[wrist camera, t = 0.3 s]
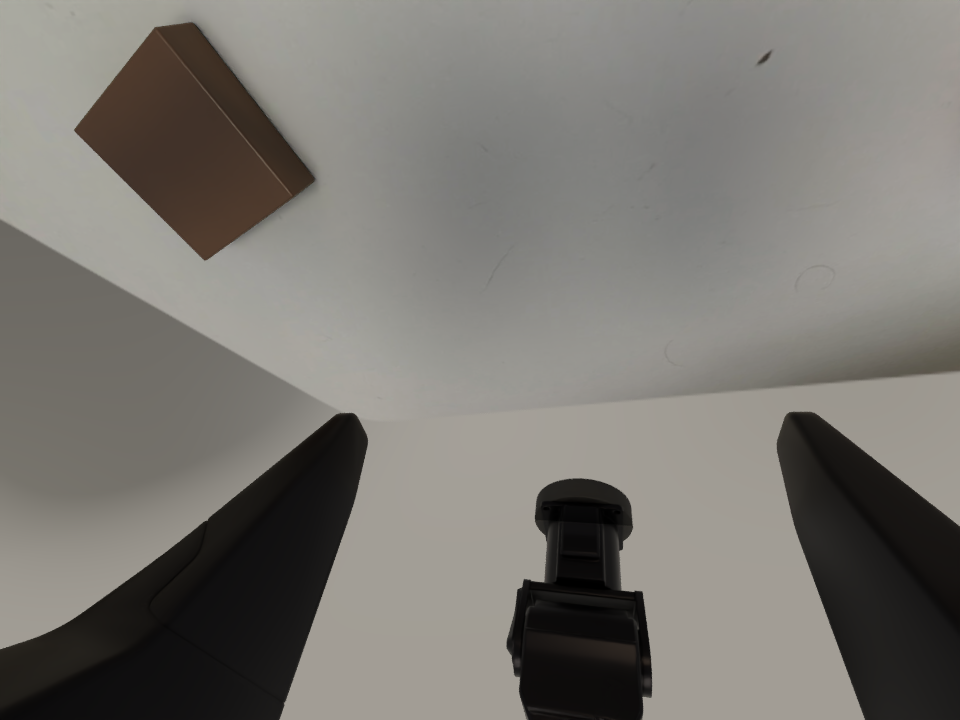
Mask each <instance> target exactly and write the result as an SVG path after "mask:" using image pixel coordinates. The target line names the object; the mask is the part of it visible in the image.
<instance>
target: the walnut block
mask: <svg viewBox="0 0 960 720" xmlns="http://www.w3.org/2000/svg"><path fill="white" fill-rule="evenodd" d="M74 131H75V132H76V133H77V134H78V135H79V136H80V137H81V138H82V139H83V140H84V141H85V142H86V143H87V144H88V145H89V146H90V147H91V148H92V149H93V150H94V151H95V152H96V153H97V154H98V155H99V156H100V157H101V158H102V159H103V160H104V161H105V162H106V163H107V164H108V165H109V166H110V167H111V168H112V169H113V170H114V171H115V172H116V173H117V174H118V175H119V176H120V177H121V178H122V179H123V180H124V181H125V182H126V183H127V184H128V185H129V186H130V187H131V188H132V189H133V190H134V191H135V192H136V193H137V194H138V195H139V196H140V197H141V198H142V199H143V200H144V201H145V202H146V203H147V204H148V205H149V206H150V207H151V208H152V209H153V210H154V211H155V212H156V213H157V214H158V215H159V216H160V217H161V218H162V219H163V220H164V221H165V222H166V223H167V224H168V225H169V226H170V227H171V228H172V229H173V230H174V231H175V232H176V233H177V234H178V235H179V236H180V237H181V238H182V239H183V240H184V241H185V242H186V243H187V244H188V245H189V246H190V247H191V248H192V249H193V250H194V251H195V252H196V253H197V254H198V255H199V256H200V257H201V258H202V259H203V260H208V259H209V258H211V257H212V256H213V255H215V254H216V253H218V252H219V251H220V250H222V249H223V248H224V247H226V246H227V245H229V244H230V243H231V242H233V241H234V240H236V239H237V238H238V237H240V236H241V235H242V234H244V233H245V232H247V231H248V230H249V229H251V228H252V227H254V226H255V225H256V224H258V223H259V222H260V221H262V220H263V219H265V218H266V217H267V216H269V215H270V214H272V213H273V212H274V211H276V210H277V209H278V208H280V207H281V206H283V205H284V204H285V203H287V202H288V201H289V200H291V199H292V198H294V197H295V196H296V195H298V194H299V193H300V192H301V191H303V190H304V189H305V188H307V187H308V186H309V185H310V184H312V183H313V182H314V181H315V179H314V178H313V176H312V175H311V174H310V172H309V171H308V170H307V169H306V167H305V166H304V165H303V163H302V162H301V161H300V160H299V158H298V157H297V156H296V154H295V153H294V152H293V151H292V149H291V148H290V147H289V145H288V144H287V143H286V142H285V140H284V139H283V138H282V136H281V135H280V134H279V133H278V131H277V130H276V129H275V127H274V126H273V125H272V124H271V122H270V121H269V120H268V118H267V117H266V116H265V115H264V113H263V112H262V111H261V109H260V108H259V107H258V106H257V104H256V103H255V102H254V100H253V99H252V98H251V97H250V95H249V94H248V93H247V91H246V90H245V89H244V87H243V86H242V85H241V84H240V82H239V81H238V80H237V78H236V77H235V76H234V75H233V73H232V72H231V71H230V69H229V68H228V67H227V66H226V64H225V63H224V62H223V60H222V59H221V58H220V57H219V55H218V54H217V53H216V51H215V50H214V49H213V48H212V46H211V45H210V44H209V42H208V41H207V40H206V39H205V37H204V36H203V35H202V33H201V32H200V31H199V30H198V28H197V27H196V26H195V24H193V23H192V22H191V23H184V24H176V25H169V26H161V27H155V28H154V29H153V30H152V32H151V33H150V34H149V35H148V37H147V38H146V39H145V41H144V42H143V43H142V44H141V46H140V47H139V48H138V49H137V51H136V52H135V53H134V54H133V56H132V57H131V58H130V59H129V61H128V62H127V63H126V65H125V66H124V67H123V68H122V70H121V71H120V72H119V73H118V75H117V76H116V77H115V78H114V80H113V81H112V82H111V84H110V85H109V86H108V87H107V89H106V90H105V91H104V92H103V94H102V95H101V96H100V97H99V99H98V100H97V101H96V103H95V104H94V105H93V106H92V108H91V109H90V110H89V111H88V113H87V114H86V115H85V116H84V118H83V119H82V120H81V121H80V123H79V124H78V125H77V127H76V128H75V129H74Z"/></svg>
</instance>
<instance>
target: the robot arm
mask: <svg viewBox="0 0 960 720" xmlns="http://www.w3.org/2000/svg"><path fill="white" fill-rule="evenodd" d="M367 445H368V438H367V435H366V433H365V431H364V429H363V427H362V425H361V423H360V421H359V419H358V417H357V416H356V415H355V414H354V413H339V414H336V415H335V416H334V417H332V418H331V419H330V420H329V421H328V422H326V423H325V424H324V425H323V426H321V427H320V428H319V429H318V430H316V431H315V432H314V433H313V434H312V435H310V436H309V437H308V438H307V439H305V440H304V441H303V442H302V443H301V444H299V445H298V446H297V447H296V448H294V449H293V450H292V451H291V452H290V453H288V454H287V455H286V456H284V457H283V458H282V459H281V460H280V461H278V462H277V463H276V464H275V465H273V466H272V467H271V468H270V469H269V470H267V471H266V472H265V473H264V474H262V475H261V476H260V477H259V478H258V479H256V480H255V481H254V482H253V483H251V484H250V485H249V486H248V487H246V488H245V489H244V490H243V491H241V492H240V493H239V494H238V495H237V496H235V497H234V498H233V499H232V500H230V501H229V502H228V503H227V504H225V505H224V506H223V507H222V508H221V509H219V510H218V511H217V512H216V513H214V514H213V515H212V516H211V517H210V518H209V519H208V521H205V522H203V523H202V524H201V525H200V526H198V527H197V528H196V529H195V530H193V531H192V532H191V533H190V534H188V535H187V536H186V537H185V538H183V539H182V540H181V541H180V542H178V543H177V544H176V545H174V546H173V547H172V548H171V549H169V550H168V551H167V552H165V553H164V554H163V555H162V556H160V557H159V558H157V559H156V560H155V561H153V562H152V563H151V564H149V565H148V566H147V567H145V568H144V569H143V570H141V571H140V572H139V573H137V574H136V575H134V576H133V577H131V578H130V579H129V580H127V581H126V582H125V583H123V584H122V585H120V586H119V587H118V588H117V589H115V590H113V591H112V592H111V593H110V594H108V595H106V596H105V597H104V598H103V599H101V600H100V601H98V602H97V603H95V604H94V605H93V606H91V607H90V608H88V609H87V610H86V611H84V612H83V613H81V614H80V615H78V616H77V617H76V618H74V619H73V620H71V621H69V622H68V623H66V624H64V625H62V626H61V627H59V628H56V629H55V630H52V631H50V632H48V633H46V634H44V635H41V636H39V637H37V638H33V639H31V640H28V641H25V642H22V643H18V644H15V645H13V646H10V647H6V648H3V649H0V720H279V719H280V716H281V714H282V711H283V708H284V702H285V701H286V698H287V695H288V693H289V690H290V687H291V684H292V681H293V678H294V675H295V672H296V670H297V667H298V663H299V661H300V658H301V655H302V652H303V649H304V646H305V644H306V641H307V638H308V635H309V632H310V629H311V626H312V623H313V620H314V617H315V614H316V611H317V609H318V606H319V603H320V600H321V597H322V594H323V591H324V589H325V586H326V583H327V580H328V577H329V574H330V571H331V568H332V566H333V563H334V560H335V557H336V554H337V551H338V548H339V545H340V542H341V539H342V537H343V534H344V531H345V528H346V525H347V522H348V519H349V517H350V514H351V510H352V507H353V504H354V500H355V497H356V493H357V489H358V485H359V480H360V475H361V472H362V467H363V463H364V459H365V454H366V450H367ZM777 453H778V457H779V462H780V466H781V470H782V475H783V478H784V483H785V488H786V492H787V496H788V501H789V505H790V509H791V514H792V518H793V522H794V526H795V529H796V532H797V535H798V538H799V541H800V543H801V546H802V549H803V552H804V554H805V557H806V560H807V562H808V565H809V568H810V571H811V573H812V576H813V579H814V582H815V584H816V587H817V590H818V592H819V595H820V598H821V601H822V604H823V606H824V609H825V612H826V614H827V617H828V619H829V623H830V625H831V628H832V631H833V634H834V636H835V639H836V642H837V644H838V647H839V650H840V653H841V655H842V658H843V661H844V664H845V666H846V669H847V672H848V674H849V677H850V680H851V683H852V685H853V688H854V691H855V694H856V696H857V699H858V702H859V704H860V707H861V710H862V713H863V715H864V718H865V720H960V526H958V525H957V524H956V523H955V522H953V521H952V520H951V519H950V518H948V517H947V516H946V515H945V514H943V513H942V512H941V511H940V510H938V509H937V508H936V507H934V506H933V505H932V504H931V503H929V502H928V501H927V500H926V499H924V498H923V497H922V496H920V495H919V494H918V493H917V492H915V491H914V490H913V489H912V488H910V487H909V486H908V485H906V484H905V483H904V482H903V481H901V480H900V479H899V478H897V477H896V476H895V475H893V474H892V473H891V472H890V471H888V470H887V469H886V468H885V467H883V466H882V465H881V464H880V463H878V462H877V461H876V460H874V459H873V458H872V457H871V456H869V455H868V454H867V453H865V452H864V451H863V450H862V449H861V448H859V447H858V446H857V445H855V444H854V443H853V442H852V441H850V440H849V439H848V438H847V437H845V436H844V435H843V434H841V433H840V432H839V431H838V430H836V429H835V428H834V427H832V426H831V425H830V424H829V423H827V422H826V421H825V420H823V419H822V418H821V417H820V416H818V415H817V414H815V413H812V412H789V413H788V414H787V415H786V416H785V418H784V421H783V424H782V428H781V430H780V434H779V437H778V440H777ZM541 514H542V519H543V525H544V530H545V535H546V541H547V552H546V567H545V582H534V581H531V580H527V579H524V581H523V587H522V588H520V589H518V590H517V599H516V607H515V613H514V617H513V621H512V624H511V628H510V632H509V635H508V638H507V649H508V651H509V653H510V654H511V655H512V662H513V667H514V675H515V676H516V677H520V685H519V693H520V698H521V701H522V705H523V708H524V712H525V715H526V719H527V720H642V716H643V698H642V697H649V698H651V696H652V668H651V655H650V645H649V637H648V630H647V622H646V615H645V607H644V599H643V593H642V591H635V592H629V591H621V576H620V557H619V551H620V550H622V549H623V507H622V506H621V505H618V504H601V503H581V502H560V501H543V502H541Z"/></svg>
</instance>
